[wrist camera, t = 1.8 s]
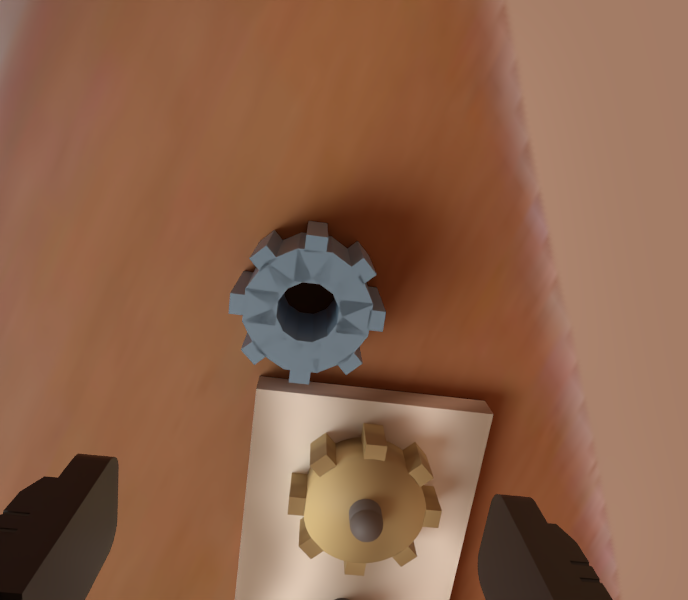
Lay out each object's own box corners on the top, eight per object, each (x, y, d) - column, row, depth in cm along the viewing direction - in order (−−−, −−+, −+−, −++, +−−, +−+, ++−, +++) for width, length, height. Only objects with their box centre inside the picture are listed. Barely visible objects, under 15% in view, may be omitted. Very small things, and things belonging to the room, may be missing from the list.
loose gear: (237, 342, 28) (223, 375, 24) (248, 212, 26) (235, 225, 22) (365, 357, 28) (372, 391, 24) (385, 230, 26) (396, 246, 22)
